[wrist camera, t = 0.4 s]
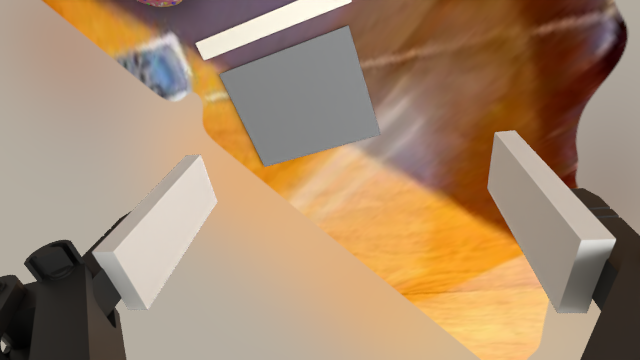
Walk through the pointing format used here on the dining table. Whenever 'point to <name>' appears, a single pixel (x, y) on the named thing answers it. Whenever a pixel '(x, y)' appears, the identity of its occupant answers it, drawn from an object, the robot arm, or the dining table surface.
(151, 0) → the cupcake
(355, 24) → the dining table surface
